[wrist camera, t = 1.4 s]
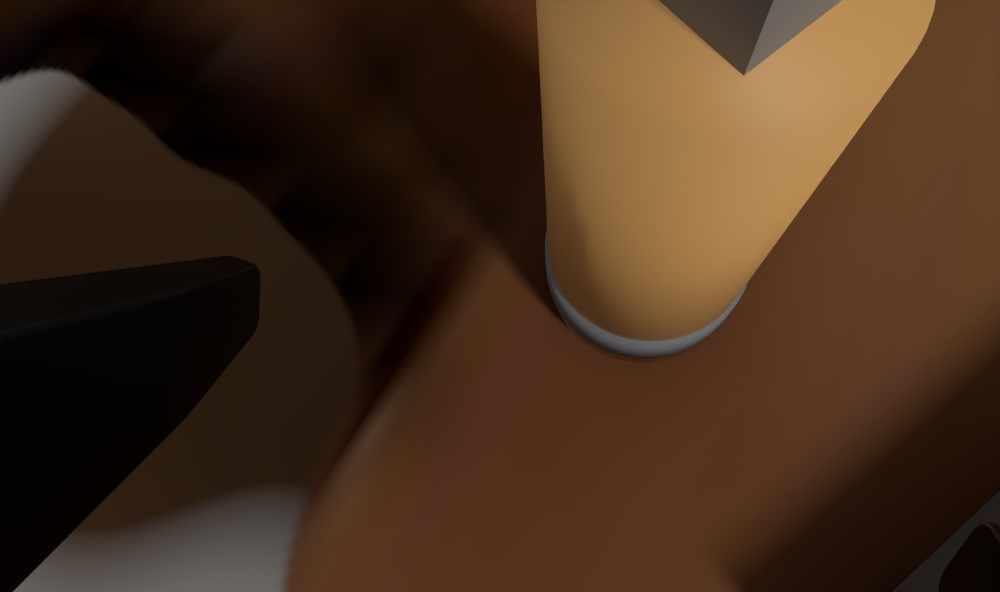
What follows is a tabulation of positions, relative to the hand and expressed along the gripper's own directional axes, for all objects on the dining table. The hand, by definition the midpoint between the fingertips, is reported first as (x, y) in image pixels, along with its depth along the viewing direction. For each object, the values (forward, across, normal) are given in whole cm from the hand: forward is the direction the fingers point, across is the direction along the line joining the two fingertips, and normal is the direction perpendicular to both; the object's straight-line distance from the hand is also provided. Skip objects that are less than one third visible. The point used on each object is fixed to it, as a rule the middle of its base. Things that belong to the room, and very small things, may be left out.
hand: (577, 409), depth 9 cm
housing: (+14, 0, +4) cm, 14 cm away
